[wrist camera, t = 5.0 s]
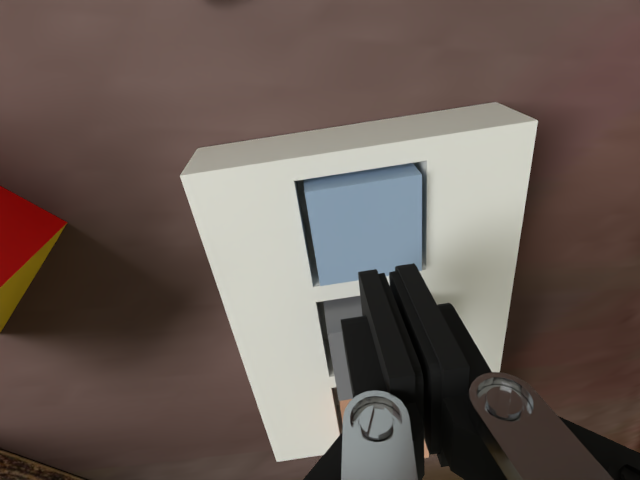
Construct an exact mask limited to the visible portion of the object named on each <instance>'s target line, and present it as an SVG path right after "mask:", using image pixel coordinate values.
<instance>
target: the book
mask: <svg viewBox="0 0 640 480" xmlns="http://www.w3.org/2000/svg"><path fill="white" fill-rule="evenodd" d="M0 480H86V479H83V478H80V477H77V476H74V475H72V474H69V473H66V472H63V471H60V470H57V469H55V468H52V467H49V466H46V465H43V464H40V463H38V462H35V461H32V460H29V459H26V458H23V457H21V456H18V455H15V454H12V453H9V452H6V451H4V450H1V449H0Z"/></svg>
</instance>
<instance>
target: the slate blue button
mask: <svg viewBox="0 0 640 480" xmlns="http://www.w3.org/2000/svg"><path fill="white" fill-rule="evenodd" d="M303 182H304V192H305V198H306V204H307V210H308V216H309V222H310V228H311V234H312V240H313V246H314V252H315V258H316V264H317V270H318V276H319V282H320V286H324V285H331V284H337V283H344V282H350V281H357V280H359V279H358V272H361V271H367V270H374V269H377V271H378V274H380V273H385V275H386V276H389V272H393V271H395V267H396V266H400V265H406V264H413V263H414V264H415V265H416V266H417V268H418V270H419V271H422V174H421V173H420V171H419V170H418V169H417V168H416V167H415V165H414V164H413V163H408V164H401V165H395V166H388V167H382V168H375V169H369V170H362V171H356V172H349V173H343V174H336V175H330V176H323V177H317V178H311V179H304V180H303Z"/></svg>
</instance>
